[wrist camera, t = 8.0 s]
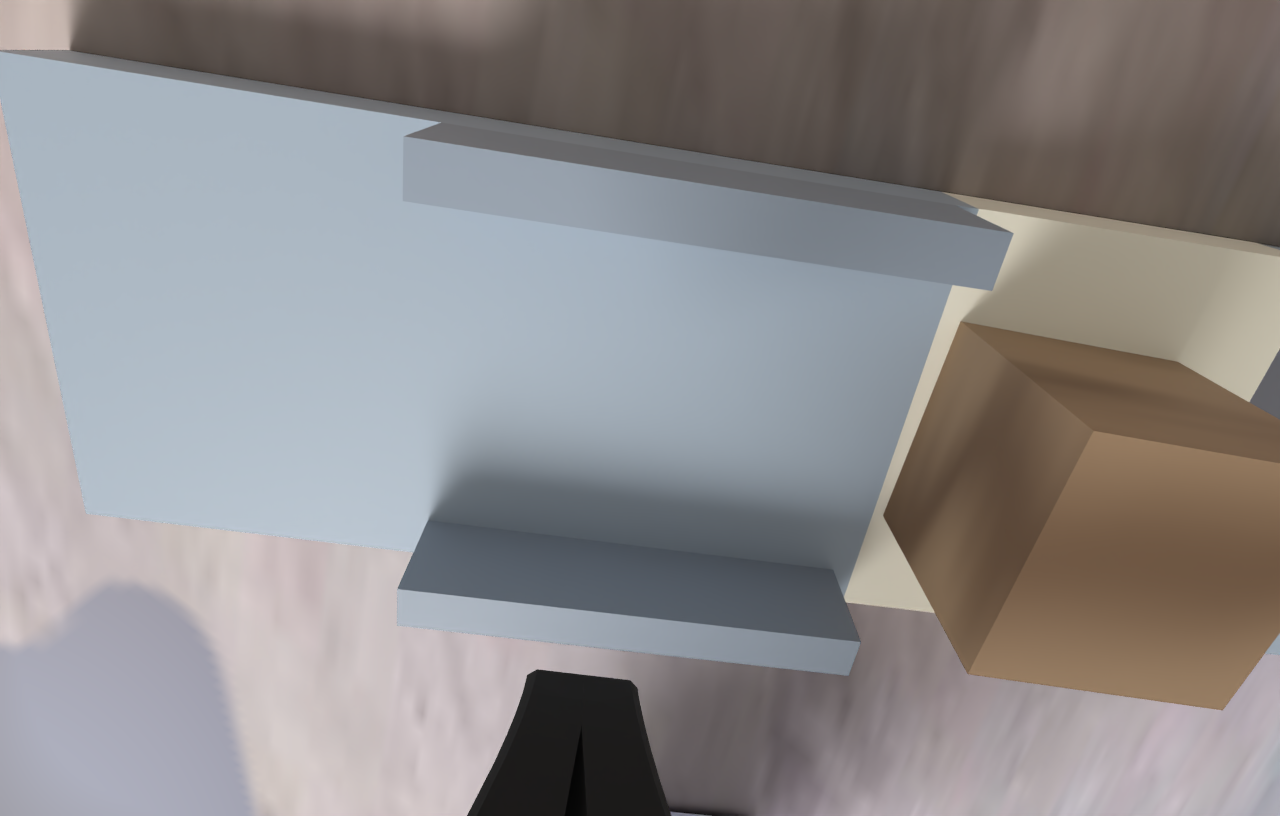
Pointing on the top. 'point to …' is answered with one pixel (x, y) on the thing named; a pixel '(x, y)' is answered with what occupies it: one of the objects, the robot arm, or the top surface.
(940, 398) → the block
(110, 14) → the top surface
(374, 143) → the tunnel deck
